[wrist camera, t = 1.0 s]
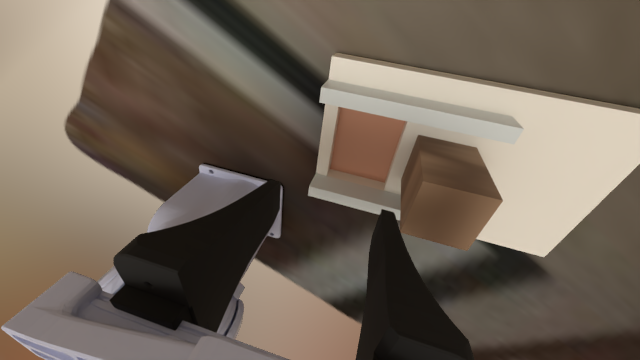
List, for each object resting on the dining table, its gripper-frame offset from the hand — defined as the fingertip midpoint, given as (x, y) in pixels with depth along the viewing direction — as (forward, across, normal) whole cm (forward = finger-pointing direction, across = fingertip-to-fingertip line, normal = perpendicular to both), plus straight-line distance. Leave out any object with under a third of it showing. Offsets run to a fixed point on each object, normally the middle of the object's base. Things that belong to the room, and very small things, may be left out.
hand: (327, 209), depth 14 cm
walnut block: (+8, -6, 0) cm, 10 cm away
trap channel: (+9, -6, 0) cm, 11 cm away
